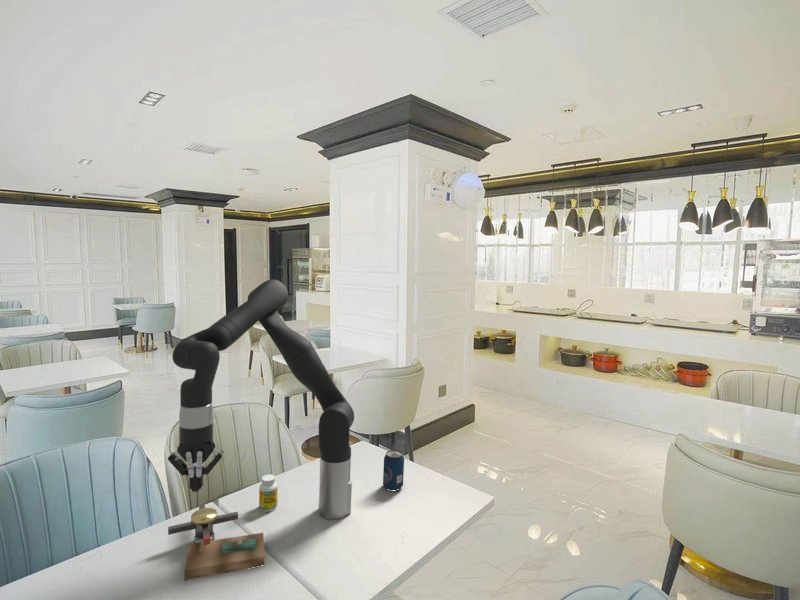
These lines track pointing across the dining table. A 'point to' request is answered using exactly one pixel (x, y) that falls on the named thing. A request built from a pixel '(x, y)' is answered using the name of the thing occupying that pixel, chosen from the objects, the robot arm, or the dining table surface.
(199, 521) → the capstan
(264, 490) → the supplement bottle
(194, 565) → the stand
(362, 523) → the dining table surface
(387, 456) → the soda can
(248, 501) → the dining table surface
